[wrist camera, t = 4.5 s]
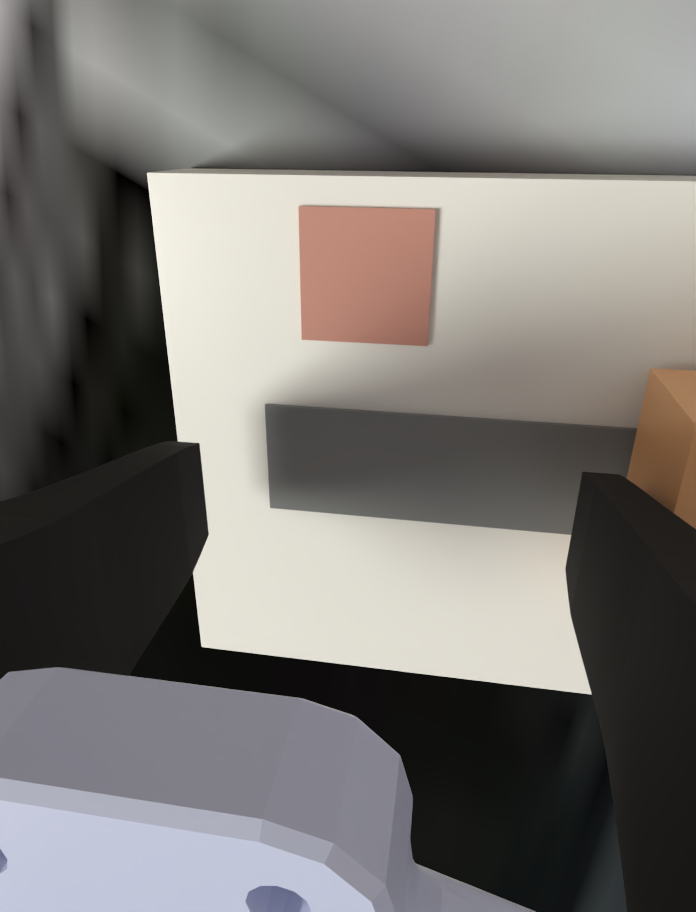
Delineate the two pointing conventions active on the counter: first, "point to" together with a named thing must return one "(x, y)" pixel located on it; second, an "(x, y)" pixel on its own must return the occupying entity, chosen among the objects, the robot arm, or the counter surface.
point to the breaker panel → (412, 399)
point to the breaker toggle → (668, 442)
